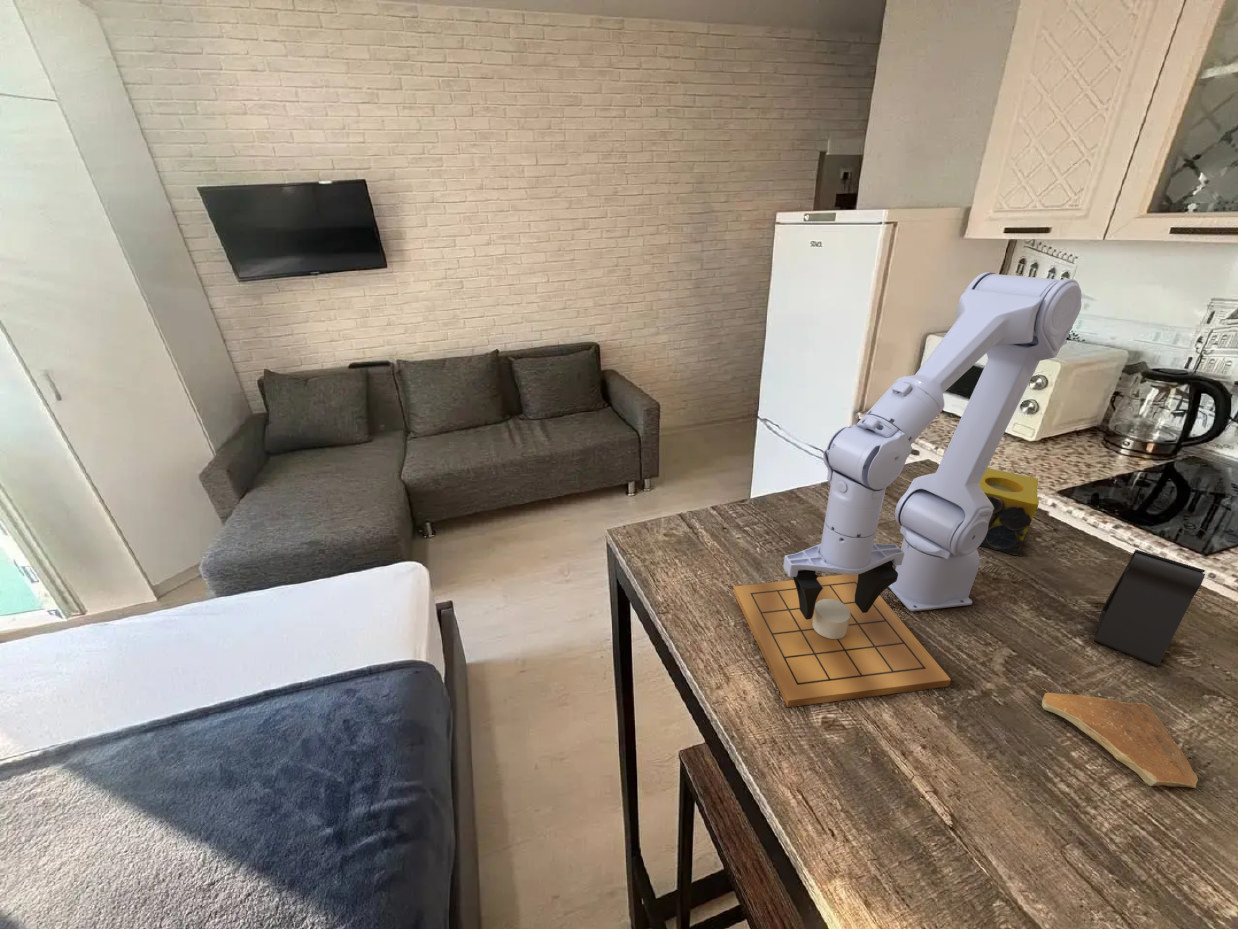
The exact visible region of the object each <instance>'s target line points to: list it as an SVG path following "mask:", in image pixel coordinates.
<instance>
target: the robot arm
mask: <svg viewBox="0 0 1238 929" xmlns="http://www.w3.org/2000/svg"><path fill="white" fill-rule="evenodd" d="M1081 309H1082V289H1081V287H1080V284H1079V282H1078V281H1077V280H1076V279H1073V278H1064V279H1057V278H1047V277H1046V278H1045V277H1033V276H1021V275H1011V274H1000V273H998V274H997V273H995V272H990V271H985V272H982V273H980V274H979V275H977V276H976V277H975V278H974V279H973V280H972V281H971V282H970V283H969V284H968V286H967V287H966V288H965V290H964V292H963V293H962V294H961V295H960V297H959V300H958V303H957V307H956V316H955V319H956V320H955V322H954V323H953V324H952V326H951V327H950V329H948V331H947V332H946V334H945V335H944V336H943V337H942V339H941V340H940V341H939V343H938V344H937V345H936V347H935V348H934V349H933V351H932V352H931V353H930V355H929V356H928V357H927V358H926V360H925V361H924V362H923V364H922V365H921V366H920V368H918V370H917V372H916V373H915V374H912V375H904V376H900V377H898V378H897V379H896V380H895V381H894V382H893V383H892V384H891V386H889V388H888V389H887V390H886V391H885V392H884V393H883V394H882V395H881V397H880V398H879V399H878V400H877V401H876V402H875V403H874V404H873V405H872V407H870V409H869V410H868V411H866V413H865V414H864V416H862V417H861V418H860V420H859V421H858V422H857V423H856V424H850V425H849V426H844V427H842V428H840V429H838V430H837V431H836V432H835V433H834V434H833V435H832V436H831V438H830V440H829V442H828V443H827V446H826V449H824V450H823V454H822V459H823V463H824V465H825V467H826V468H827V476H826V480H827V482H828V483H829V486H830V487H829V492H828V498H827V504H826V510H825V516H824V522H823V529H822V534H821V540H820V543H818V544H816V545H814V546H811V547H808V548H806V549H803V550H800V551H798V552H795V553H791V554H786V555H784V557H783V566H782V568H783V570H784V572H785V573H786V574H787V577H789V578H792V580H794V582H795V585H796V589H797V592H798V598H799V606H800V611H801V612H802V614H803V616H804V617H805V619H811V618H812V616H813V613H814V607H815V602H816V600H817V597H818V595H819V593H820V592H821V590H822V589H823V587H822V586H821V585H820V583H819V582H818V580H817V577H818V575H817V574H816V572H822V573H832V574H838V575H844V574H849V575H855V574H858V582H857V587H856V592H855V603H856V605H857V606H858V607H859V609H860V610H861V611H862V613H867V612H868V610H869V609H870V608H871V606H872V605H873V603H874V602H875V600H876V599H877V598H878V596H879V595H880V596H881V594H882V593H883V592H885V590H886V589H887V588H888V589H889V590H890V591H891V592H892V593H893V594H894V595H895V597H897V598H898V600H899V601H900V602H901V603H902V604H903V606H905V607H906V609H907V610H908V611H910V612H918V611H919V612H920V611H929V610H937V609H945V608H947V609H948V608H952V607H962V606H971V605H972V604H973V600H972V599H971V598H970V597H969V596H970V595H971V591H972V588H973V586H974V582H975V580H976V576H977V574H978V571H979V568H980V563H981V562H980V560H981V559H980V554H979V550H978V548H979V547H981V546H980V544H981V543H982V542H983V540H984V538H985V536H986V534H987V531H988V524H989V521H990V518H991V516H992V513H993V510H994V507H993V505H992V503H991V502H990V500H989V499H988V497H987V496H986V495H985V493H984V492H983V490H982V489H981V487H980V485H979V483H980V481H981V479H982V477H983V475H984V473H985V471H986V469H987V468H989V467H988V466H989V465H990V463H991V460H992V458H993V457H994V454H995V453H996V450H997V448H998V446H999V444H1000V442H1001V440H1002V438H1003V437H1004V434H1005V432H1006V430H1007V428H1008V426H1009V425H1010V422H1011V420H1012V418H1013V416H1014V414H1015V412H1016V410H1017V408H1018V406H1019V405H1020V402H1021V400H1022V398H1023V397H1024V394H1025V393H1026V392H1025V391H1026V390H1027V388H1028V386H1029V384H1030V382H1031V380H1032V377H1033V376H1034V374H1035V371H1036V370H1037V368H1038V366H1039V365H1040V361H1046V360H1051V359H1054V358H1056V357H1057V356H1058V355H1059V352H1060V350H1061V348H1062V347H1063V346H1064V344H1065V342H1066V340H1067V338H1068V336H1069V334H1070V332H1071V330H1072V328H1073V327H1074V324H1075V322H1076V321H1077V319H1078V317H1079V315H1080V313H1081ZM985 355H986V356H987V361H986V362H985V365H984V368H983V369H982V372H981V374H980V376H979V378H978V381H977V382H976V385H975V387H974V388H973V391H972V393H971V395H970V398H969V400H968V402H967V405H966V406H965V409H964V410H963V413H962V415H961V417H960V420H959V421H958V423H957V426H956V428H955V429H954V432H953V435H952V437H951V439H950V441H949V443H948V446H947V447H946V449H945V452H944V454H943V456H942V458H941V461H940V463H939V465H938V467H937V469H936V471H935V472H932V473H929V474H923V475H920V476H917V477H915V478H913V479H912V481H911V483H910V485H909V486H908V489H907V490H906V491H905V493H904V494H902V496H901V497H899V500H898V501H897V504H896V506H895V508H894V509H895V510H894V519H895V522H896V524H898V525H899V526H900V529H899V534H901V535H903V537H902V538H903V539H902V542H901V546H900V547H899V546H898V545H897V544H896V543H878V542H875V540H876V534H877V530H878V526H879V521H880V517H881V512H882V507H883V503H884V498H885V495H886V489H887V487H889V486H890V485H891V484H892V483H894V481H896V480H897V479H898V478H899V476H900V474H901V473H902V471H903V469H904V468H905V465H906V462H907V459H908V458H909V457H910V455H911V454H912V452H913V447H912V444H913V443H914V442H915V441H916V440H917V439H918V438H919V437H920V436H921V435H922V433H923V432H924V431H925V430H926V429H927V428H928V427H929V426H930V424H932V422H933V421H934V420H935V419H937V417H938V415H939V414H940V413H941V412H942V411H943V410H944V408H945V397H944V393H945V392H947V390H948V389H950V387H951V386H953V385H954V384H955V383H956V382H957V381H958V380H959V379H961V377H963V375H965V374H966V373H967V372H968V371H969V370H970V369H971V368H972V367H973V366H974V365H975V364H977V362H978V361H980V360H981V358H983V357H984V356H985ZM894 567H895V568H894Z"/></svg>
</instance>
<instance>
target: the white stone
mask: <svg viewBox="0 0 1238 929" xmlns="http://www.w3.org/2000/svg"><path fill="white" fill-rule="evenodd" d="M850 617H851V613H850V610H849V608H848V607H847V606H846V605H845V604H843V603H841V602H839V601H837V600H834V599H822V600H819V601H818V602H817V603H816V604H815V609H814V614H813V620H812V626H813V628H814V630H815V631H816V632H817V633H818V634H820V635H821V636H823V637H826V638H829V639H840V638H843V637H844V636H845V635H846V634H847V630H848V626H849V621H850Z"/></svg>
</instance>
